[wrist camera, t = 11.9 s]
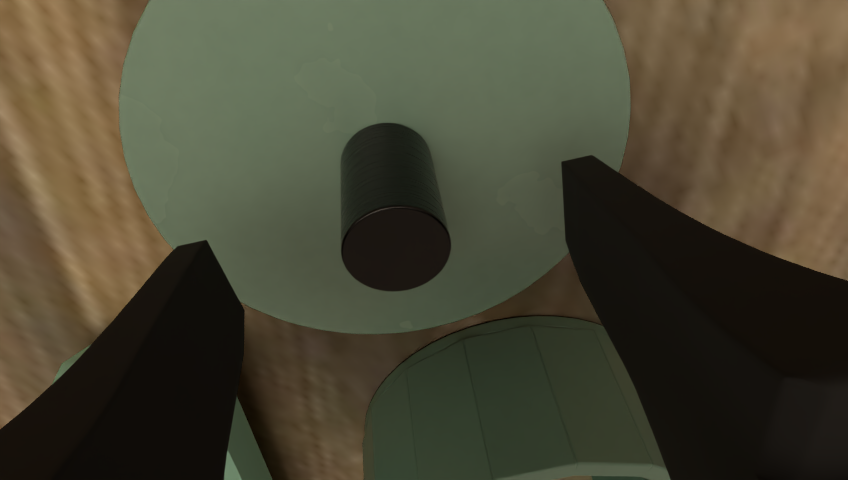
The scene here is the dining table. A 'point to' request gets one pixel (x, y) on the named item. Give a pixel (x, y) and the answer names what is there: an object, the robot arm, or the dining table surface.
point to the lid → (370, 146)
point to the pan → (512, 408)
